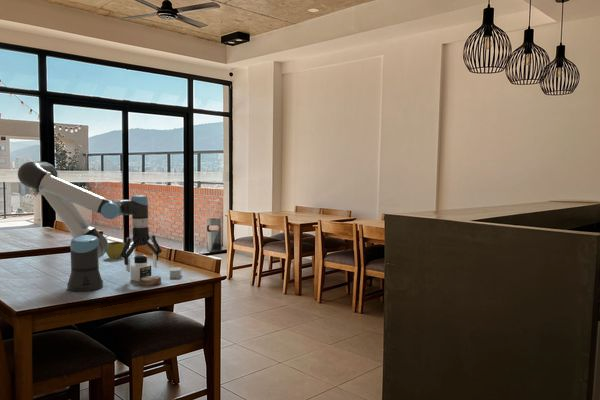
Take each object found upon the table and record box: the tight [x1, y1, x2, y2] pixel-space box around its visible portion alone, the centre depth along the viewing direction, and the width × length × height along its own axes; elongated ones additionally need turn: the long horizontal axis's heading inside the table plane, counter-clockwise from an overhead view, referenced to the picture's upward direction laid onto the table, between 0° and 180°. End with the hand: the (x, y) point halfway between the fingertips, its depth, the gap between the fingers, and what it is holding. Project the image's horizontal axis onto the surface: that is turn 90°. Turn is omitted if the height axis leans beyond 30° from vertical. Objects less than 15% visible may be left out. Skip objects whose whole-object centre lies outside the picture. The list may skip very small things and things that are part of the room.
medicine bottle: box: [130, 254, 152, 282], centre depth 237 cm, size 7×7×12 cm
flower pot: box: [105, 241, 126, 259], centre depth 289 cm, size 9×9×9 cm
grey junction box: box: [169, 267, 182, 279], centre depth 244 cm, size 7×5×4 cm
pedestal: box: [138, 275, 162, 287], centre depth 229 cm, size 10×10×3 cm
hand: (141, 269), depth 237 cm, fingers open, 13 cm apart
